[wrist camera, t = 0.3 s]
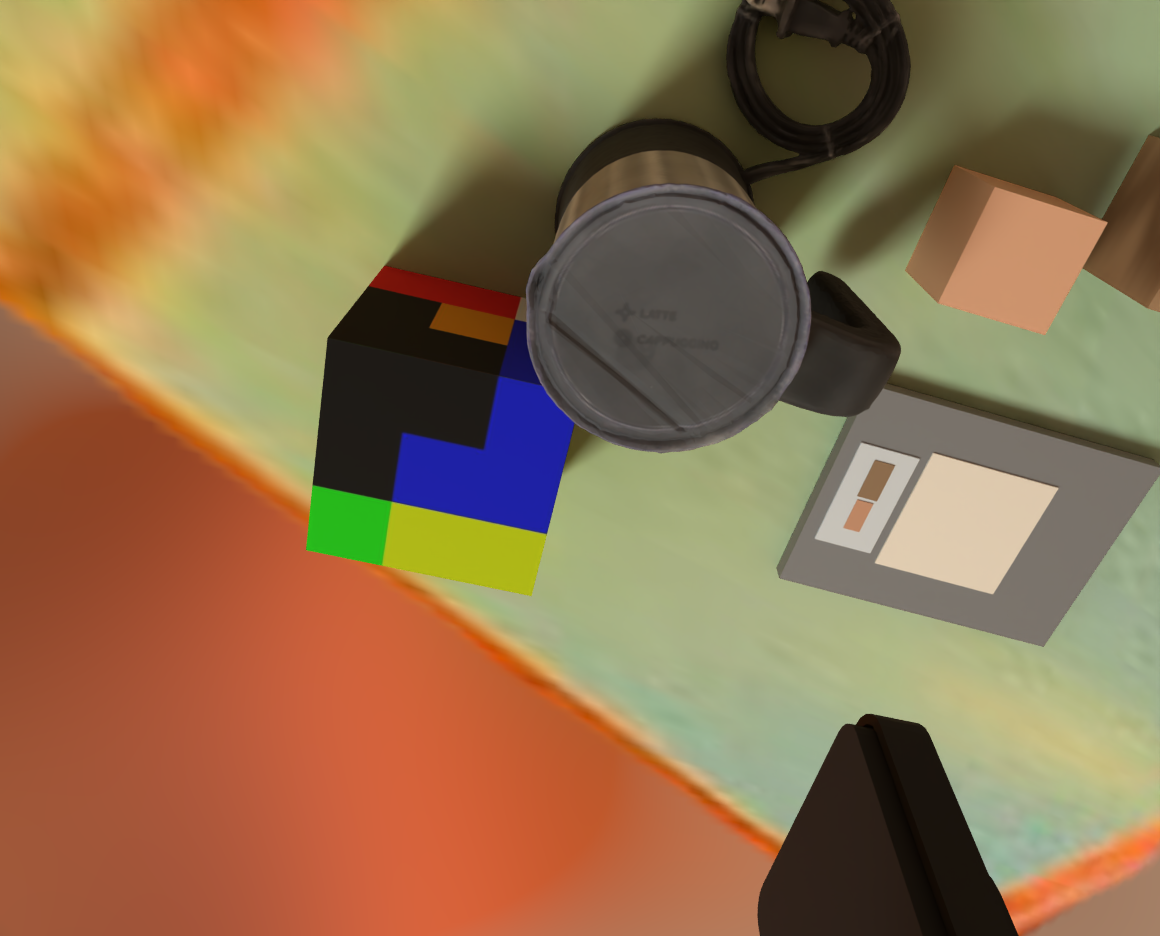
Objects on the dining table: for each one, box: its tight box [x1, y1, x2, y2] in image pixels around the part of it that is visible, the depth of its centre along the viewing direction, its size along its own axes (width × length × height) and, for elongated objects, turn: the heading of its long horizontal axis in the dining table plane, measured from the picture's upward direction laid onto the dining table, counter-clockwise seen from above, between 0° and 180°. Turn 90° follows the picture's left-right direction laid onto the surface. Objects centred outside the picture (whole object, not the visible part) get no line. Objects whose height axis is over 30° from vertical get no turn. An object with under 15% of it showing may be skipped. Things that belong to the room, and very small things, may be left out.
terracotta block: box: [905, 165, 1108, 335], centre depth 40 cm, size 5×5×5 cm
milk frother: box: [526, 0, 911, 453], centre depth 34 cm, size 14×16×15 cm
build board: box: [777, 383, 1160, 647], centre depth 49 cm, size 12×16×1 cm
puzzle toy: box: [306, 266, 575, 596], centre depth 42 cm, size 10×10×10 cm
